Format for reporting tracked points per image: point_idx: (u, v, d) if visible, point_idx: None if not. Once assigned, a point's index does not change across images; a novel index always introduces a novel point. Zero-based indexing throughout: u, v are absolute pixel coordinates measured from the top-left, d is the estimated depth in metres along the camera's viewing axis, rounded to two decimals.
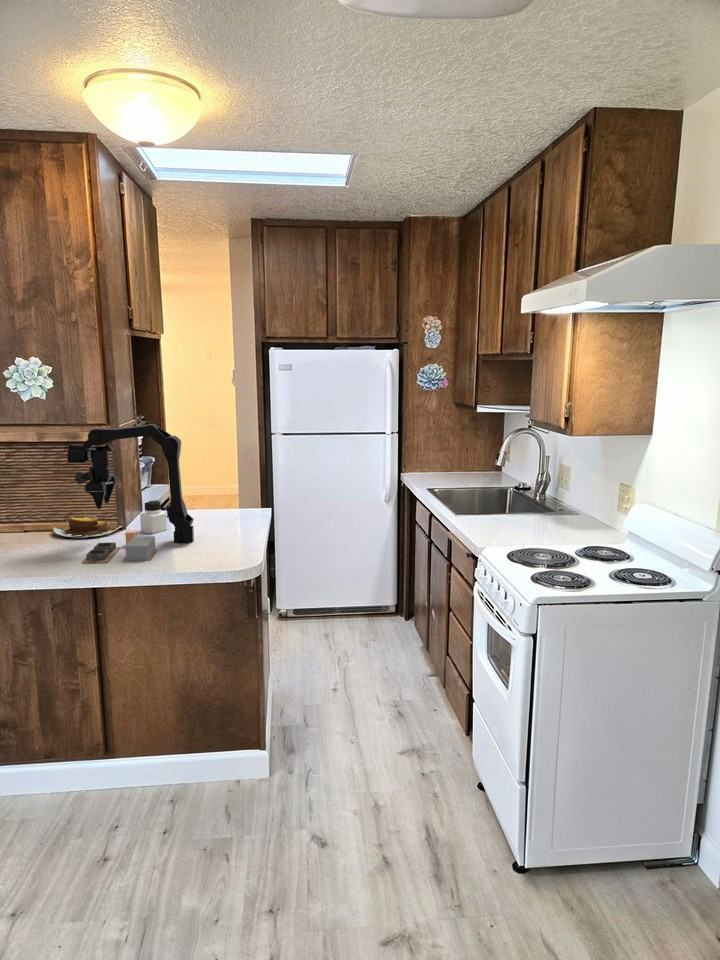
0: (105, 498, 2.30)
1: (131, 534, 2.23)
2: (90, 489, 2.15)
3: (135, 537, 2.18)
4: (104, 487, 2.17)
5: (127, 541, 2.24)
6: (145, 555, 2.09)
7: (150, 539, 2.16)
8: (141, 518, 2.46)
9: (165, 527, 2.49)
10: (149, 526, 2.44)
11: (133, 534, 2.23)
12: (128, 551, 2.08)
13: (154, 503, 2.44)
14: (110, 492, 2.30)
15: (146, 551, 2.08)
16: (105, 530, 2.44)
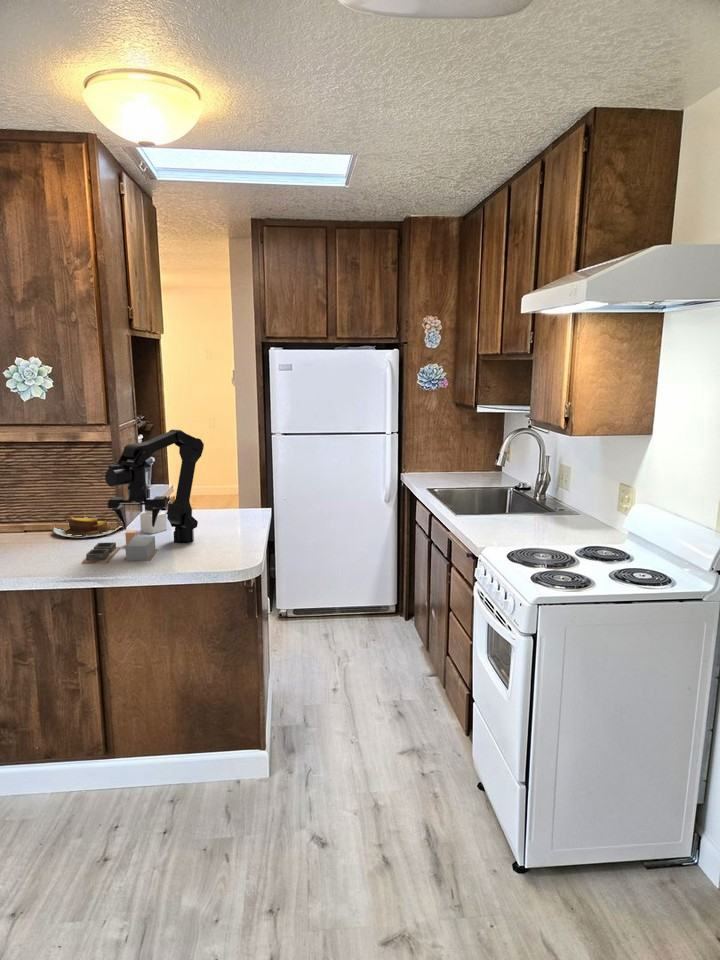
0: None
1: (131, 534, 2.23)
2: None
3: (135, 537, 2.18)
4: (113, 505, 2.08)
5: (127, 541, 2.24)
6: (145, 555, 2.09)
7: (150, 539, 2.16)
8: (141, 518, 2.46)
9: (165, 527, 2.49)
10: (149, 526, 2.44)
11: (133, 534, 2.23)
12: (128, 551, 2.08)
13: None
14: (152, 516, 2.11)
15: (146, 551, 2.08)
16: (105, 530, 2.44)
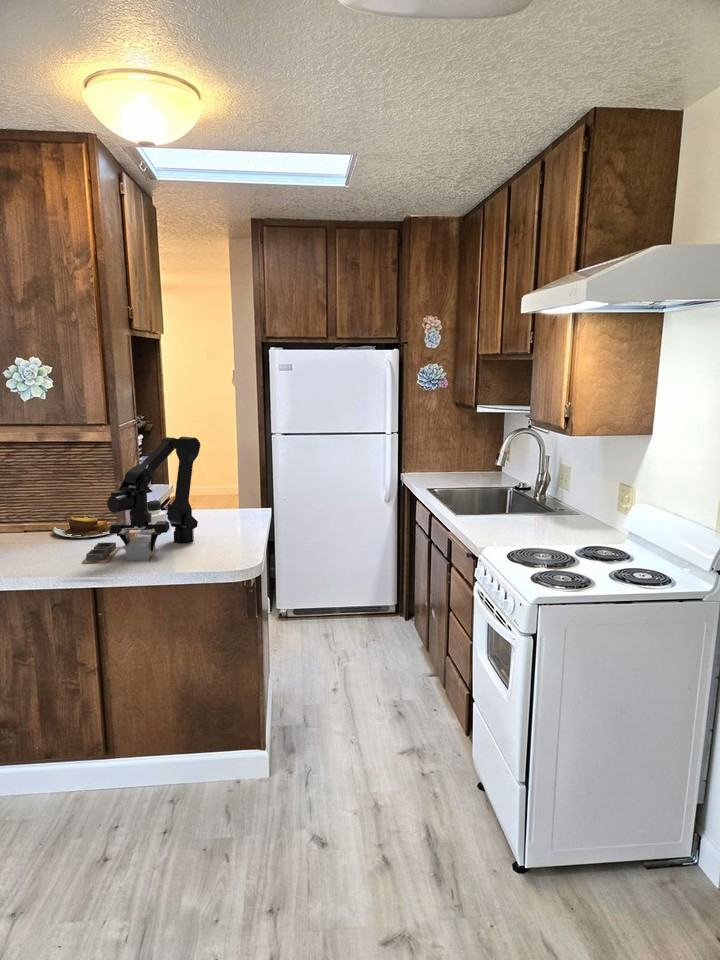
0: None
1: (131, 534, 2.23)
2: None
3: (135, 537, 2.18)
4: (115, 531, 2.09)
5: None
6: (145, 555, 2.09)
7: (150, 539, 2.16)
8: None
9: None
10: None
11: (133, 534, 2.23)
12: (128, 551, 2.08)
13: (154, 503, 2.44)
14: (151, 541, 2.13)
15: (146, 551, 2.08)
16: (105, 530, 2.44)
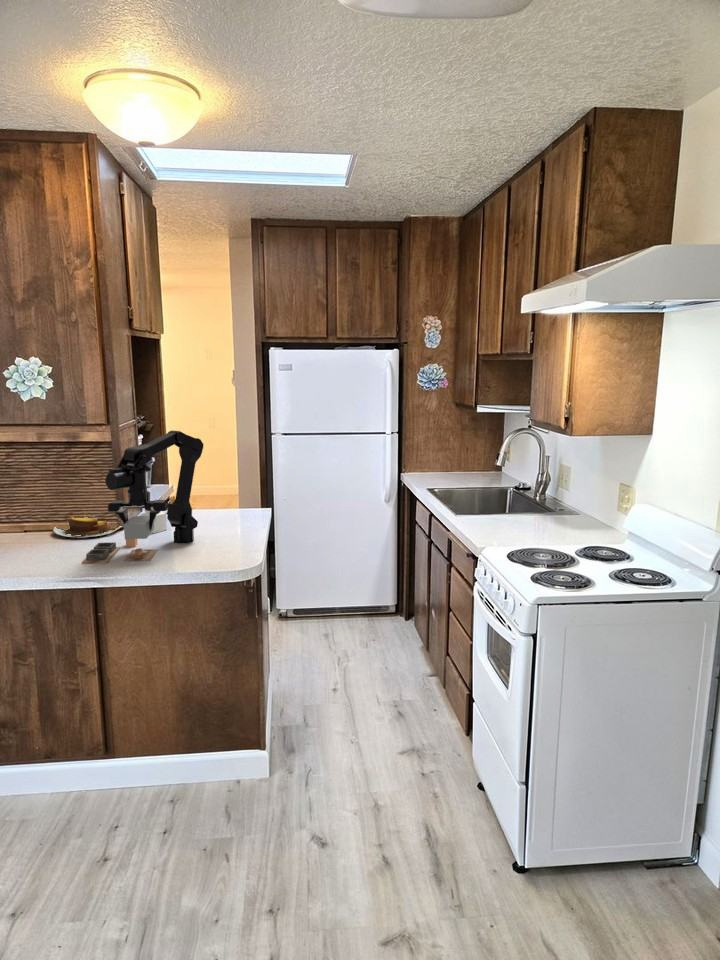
0: None
1: None
2: None
3: (134, 516, 2.16)
4: (113, 509, 2.07)
5: (127, 541, 2.24)
6: (143, 533, 2.07)
7: (149, 518, 2.14)
8: None
9: (165, 527, 2.49)
10: None
11: None
12: (126, 529, 2.06)
13: None
14: None
15: (145, 529, 2.07)
16: (105, 530, 2.44)
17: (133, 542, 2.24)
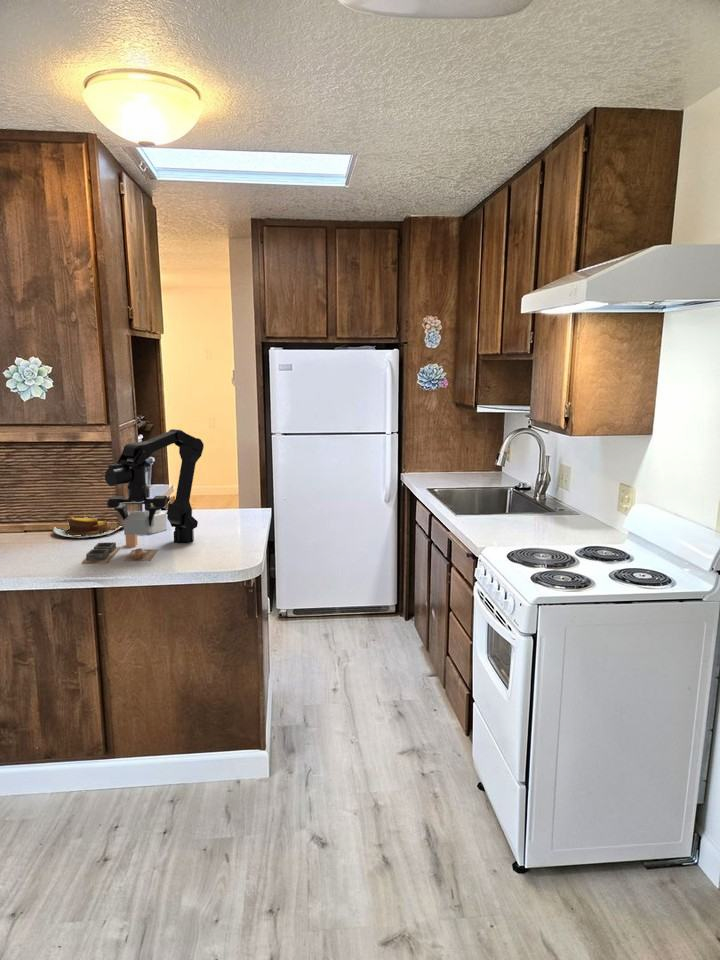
0: None
1: None
2: None
3: (133, 512, 2.16)
4: (113, 504, 2.07)
5: (127, 541, 2.24)
6: (143, 529, 2.07)
7: (148, 514, 2.14)
8: None
9: (165, 527, 2.49)
10: None
11: None
12: (126, 525, 2.06)
13: None
14: (149, 515, 2.11)
15: (144, 525, 2.07)
16: (105, 530, 2.44)
17: (133, 542, 2.24)
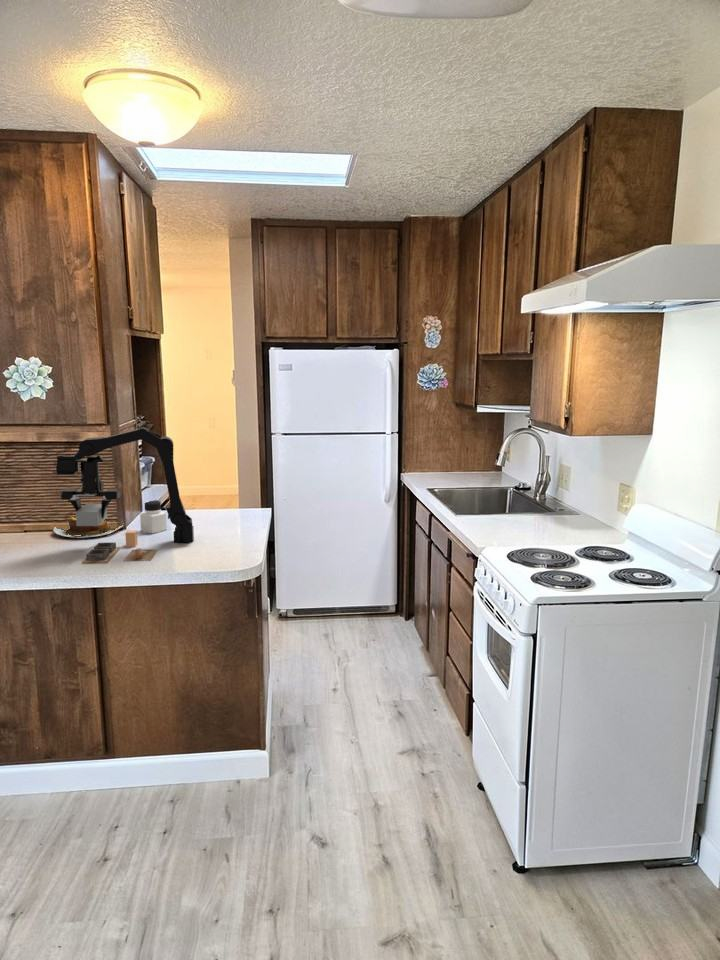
0: None
1: (131, 534, 2.23)
2: None
3: (87, 504, 2.24)
4: (66, 497, 2.15)
5: (127, 541, 2.24)
6: (95, 521, 2.15)
7: (101, 506, 2.22)
8: (141, 518, 2.46)
9: (165, 527, 2.49)
10: (149, 526, 2.44)
11: (133, 534, 2.23)
12: (78, 516, 2.14)
13: (154, 503, 2.44)
14: None
15: (96, 517, 2.15)
16: (105, 530, 2.44)
17: (133, 542, 2.24)
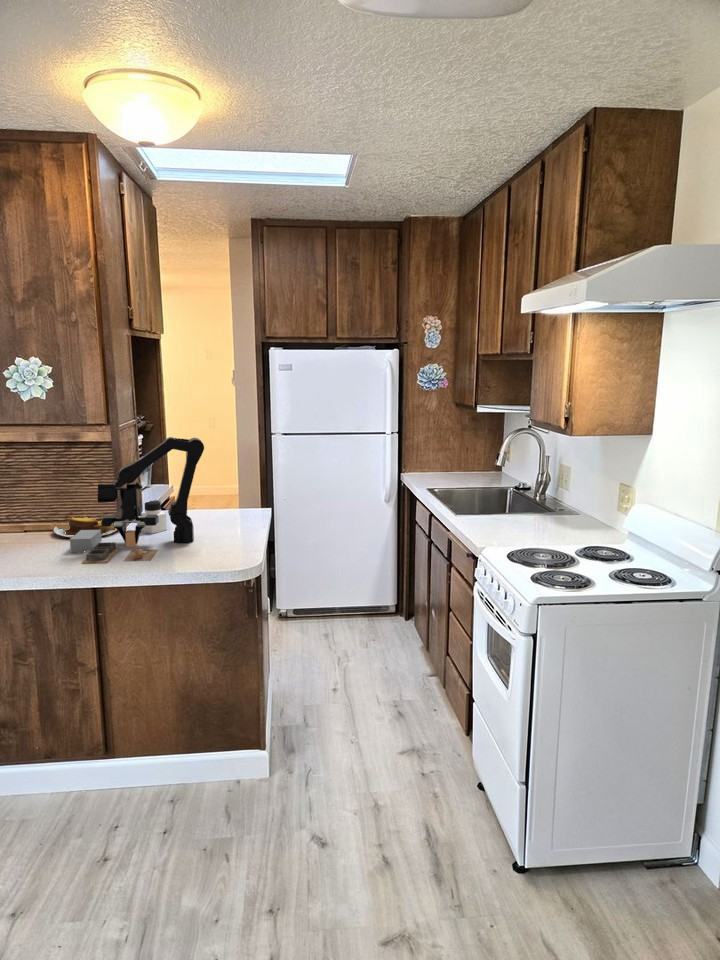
0: None
1: (131, 534, 2.23)
2: None
3: (81, 531, 2.28)
4: (107, 523, 2.20)
5: (127, 541, 2.24)
6: (89, 548, 2.19)
7: (95, 532, 2.26)
8: None
9: (165, 527, 2.49)
10: (149, 526, 2.44)
11: (133, 534, 2.23)
12: (72, 544, 2.18)
13: (154, 503, 2.44)
14: None
15: (90, 544, 2.19)
16: (105, 530, 2.44)
17: (133, 542, 2.24)
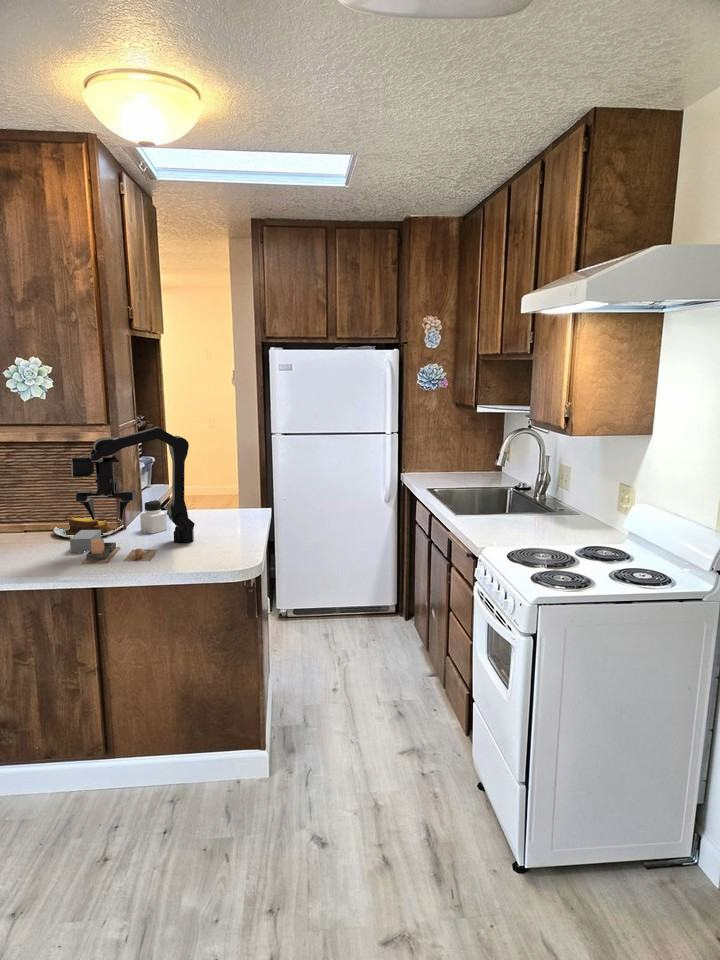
0: None
1: (97, 543, 2.07)
2: None
3: (81, 531, 2.28)
4: (81, 498, 2.12)
5: (93, 550, 2.07)
6: (89, 548, 2.19)
7: (95, 532, 2.26)
8: (141, 518, 2.46)
9: (165, 527, 2.49)
10: (149, 526, 2.44)
11: (99, 543, 2.07)
12: (72, 544, 2.18)
13: (154, 503, 2.44)
14: None
15: (90, 544, 2.19)
16: (106, 531, 2.44)
17: (100, 551, 2.07)
